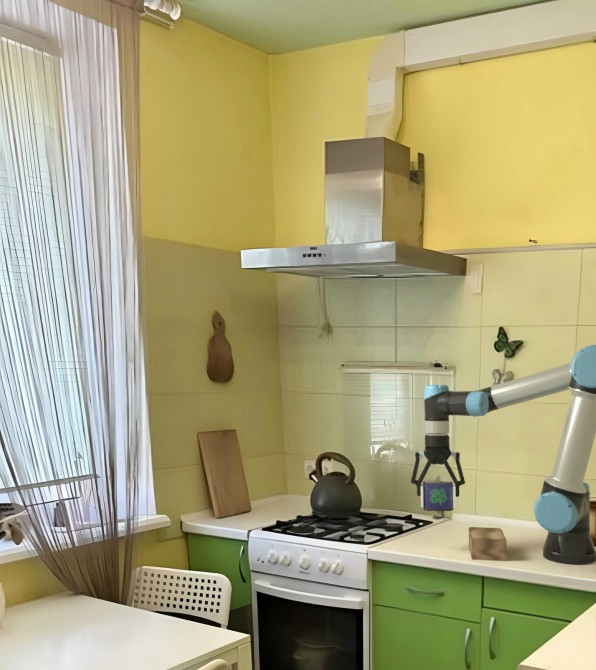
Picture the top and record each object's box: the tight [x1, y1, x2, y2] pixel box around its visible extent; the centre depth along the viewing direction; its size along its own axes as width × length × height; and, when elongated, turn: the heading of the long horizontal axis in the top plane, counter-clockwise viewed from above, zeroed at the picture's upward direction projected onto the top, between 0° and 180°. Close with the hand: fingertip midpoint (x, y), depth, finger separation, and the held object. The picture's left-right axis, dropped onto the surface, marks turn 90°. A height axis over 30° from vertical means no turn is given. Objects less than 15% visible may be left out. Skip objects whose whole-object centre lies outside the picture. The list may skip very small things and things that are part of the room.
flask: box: [422, 475, 454, 512], centre depth 234 cm, size 9×3×11 cm, turn 88°
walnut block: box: [468, 526, 508, 562], centre depth 231 cm, size 10×16×6 cm, turn 170°
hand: (438, 506), depth 234 cm, fingers closed on flask, 9 cm apart
